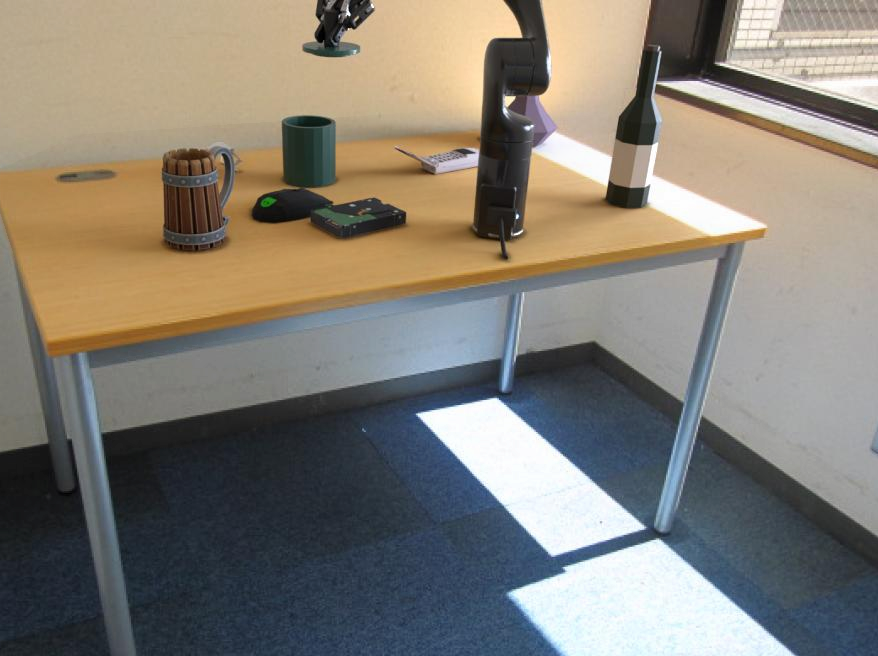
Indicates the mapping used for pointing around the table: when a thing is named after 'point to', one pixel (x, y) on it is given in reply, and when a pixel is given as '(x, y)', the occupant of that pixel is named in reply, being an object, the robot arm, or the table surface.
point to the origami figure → (227, 148)
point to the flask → (534, 117)
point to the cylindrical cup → (309, 150)
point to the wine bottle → (636, 139)
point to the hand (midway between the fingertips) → (324, 41)
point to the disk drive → (357, 217)
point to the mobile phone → (447, 160)
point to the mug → (195, 198)
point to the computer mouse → (287, 205)
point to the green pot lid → (326, 47)
